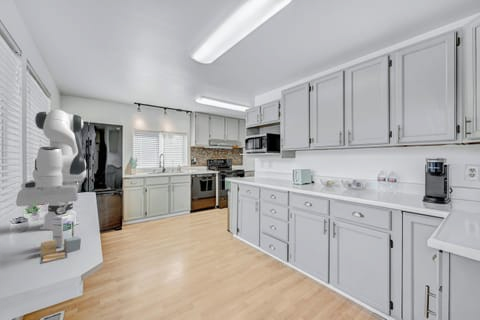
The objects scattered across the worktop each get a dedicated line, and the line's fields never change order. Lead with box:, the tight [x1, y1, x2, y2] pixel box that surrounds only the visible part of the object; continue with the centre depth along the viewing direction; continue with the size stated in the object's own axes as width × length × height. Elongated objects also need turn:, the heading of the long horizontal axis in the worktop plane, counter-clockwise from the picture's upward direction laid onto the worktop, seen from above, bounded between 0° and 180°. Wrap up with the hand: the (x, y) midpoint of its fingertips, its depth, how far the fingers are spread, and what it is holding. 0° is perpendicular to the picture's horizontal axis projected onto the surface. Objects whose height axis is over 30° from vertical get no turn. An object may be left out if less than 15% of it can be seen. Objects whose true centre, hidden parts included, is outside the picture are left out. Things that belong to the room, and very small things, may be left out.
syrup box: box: [52, 214, 75, 249], centre depth 102 cm, size 6×6×14 cm
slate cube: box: [63, 235, 82, 254], centre depth 97 cm, size 5×5×5 cm
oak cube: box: [40, 239, 57, 258], centre depth 93 cm, size 5×5×5 cm
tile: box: [39, 251, 68, 265], centre depth 89 cm, size 8×8×1 cm
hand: (49, 213), depth 93 cm, fingers open, 8 cm apart
